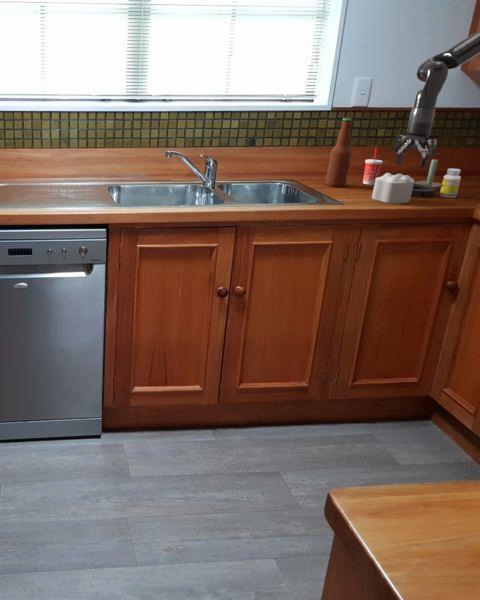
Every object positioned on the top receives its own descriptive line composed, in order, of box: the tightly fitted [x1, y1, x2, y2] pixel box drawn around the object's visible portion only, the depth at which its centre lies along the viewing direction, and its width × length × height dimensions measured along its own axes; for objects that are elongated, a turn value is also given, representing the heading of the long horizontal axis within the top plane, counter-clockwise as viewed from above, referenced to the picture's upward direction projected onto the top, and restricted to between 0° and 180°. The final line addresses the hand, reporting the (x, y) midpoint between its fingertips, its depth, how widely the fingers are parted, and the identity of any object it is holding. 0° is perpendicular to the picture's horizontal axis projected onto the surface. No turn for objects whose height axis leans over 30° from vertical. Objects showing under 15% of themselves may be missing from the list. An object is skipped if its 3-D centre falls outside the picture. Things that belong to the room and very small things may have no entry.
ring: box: [411, 185, 436, 199], centre depth 223 cm, size 11×11×2 cm
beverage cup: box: [362, 147, 384, 186], centre depth 237 cm, size 6×6×14 cm
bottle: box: [325, 117, 353, 188], centre depth 231 cm, size 7×7×25 cm
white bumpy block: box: [371, 172, 415, 204], centre depth 213 cm, size 10×13×9 cm
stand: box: [414, 159, 442, 192], centre depth 233 cm, size 9×9×10 cm
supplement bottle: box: [439, 168, 462, 199], centre depth 219 cm, size 5×5×10 cm
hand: (410, 166), depth 223 cm, fingers open, 8 cm apart
